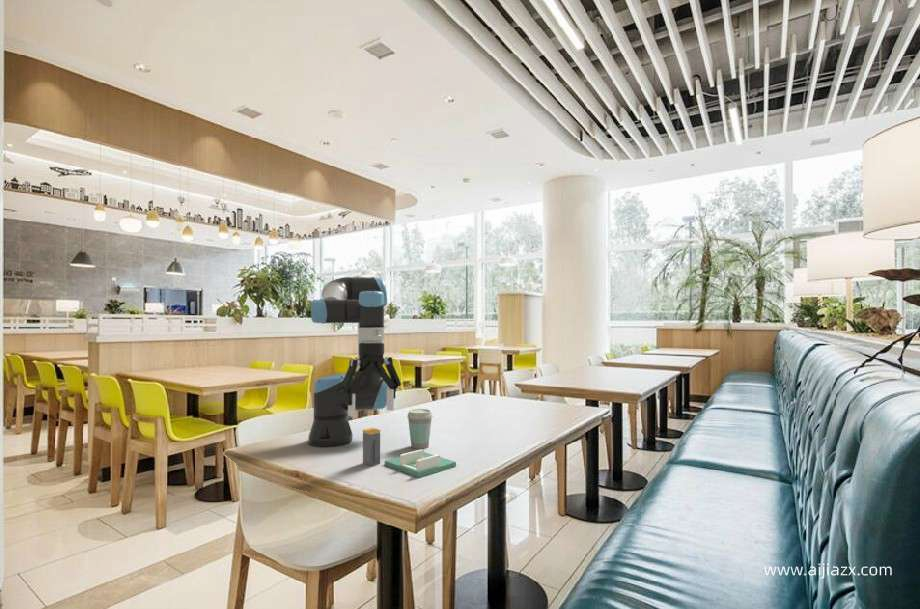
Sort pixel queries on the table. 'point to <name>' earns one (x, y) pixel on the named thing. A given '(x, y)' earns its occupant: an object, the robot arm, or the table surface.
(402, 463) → the board
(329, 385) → the robot arm
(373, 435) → the plug
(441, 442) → the table surface
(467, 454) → the table surface
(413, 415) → the coffee cup
